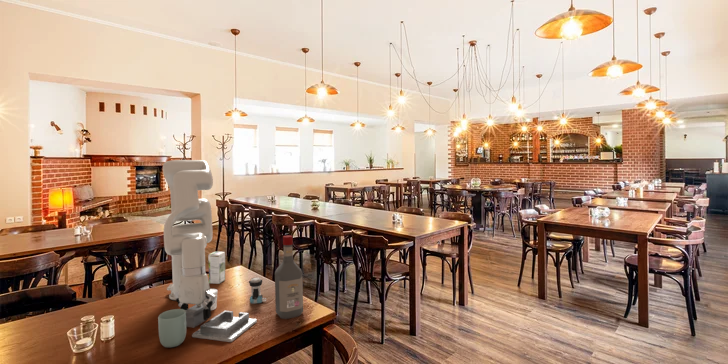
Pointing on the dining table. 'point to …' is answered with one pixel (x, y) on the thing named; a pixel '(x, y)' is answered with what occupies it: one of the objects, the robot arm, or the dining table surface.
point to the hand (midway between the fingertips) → (195, 317)
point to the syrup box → (216, 267)
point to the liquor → (288, 284)
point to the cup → (172, 327)
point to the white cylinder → (215, 300)
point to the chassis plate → (225, 327)
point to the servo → (194, 315)
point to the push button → (256, 291)
